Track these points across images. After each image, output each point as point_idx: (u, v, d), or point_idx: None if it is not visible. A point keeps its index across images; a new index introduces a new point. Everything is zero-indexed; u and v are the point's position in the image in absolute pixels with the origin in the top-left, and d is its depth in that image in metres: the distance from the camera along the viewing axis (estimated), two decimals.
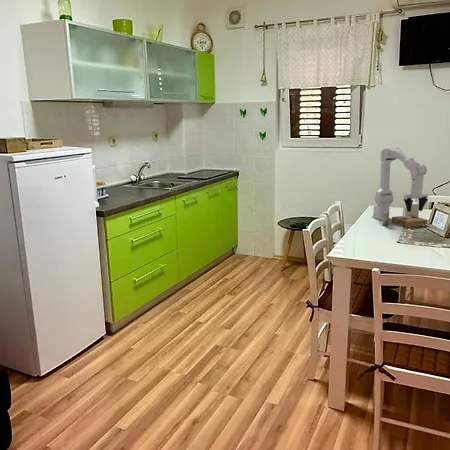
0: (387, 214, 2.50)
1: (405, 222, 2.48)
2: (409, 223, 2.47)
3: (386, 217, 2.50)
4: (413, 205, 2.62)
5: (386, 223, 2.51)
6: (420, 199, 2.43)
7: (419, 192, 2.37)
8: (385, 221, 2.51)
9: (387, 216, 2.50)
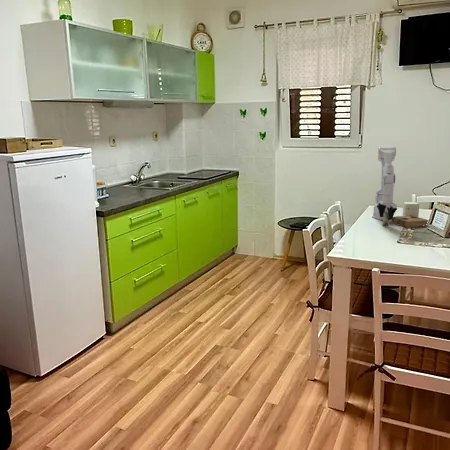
0: (387, 214, 2.50)
1: (405, 222, 2.48)
2: (409, 223, 2.47)
3: (386, 217, 2.50)
4: (413, 205, 2.62)
5: (386, 223, 2.51)
6: None
7: (382, 199, 2.49)
8: (385, 221, 2.51)
9: (387, 216, 2.50)
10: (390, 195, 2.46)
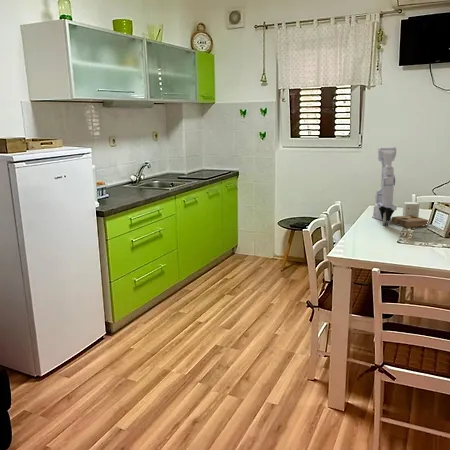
0: None
1: (405, 222, 2.48)
2: (409, 223, 2.47)
3: None
4: (413, 205, 2.62)
5: (386, 223, 2.51)
6: None
7: (382, 201, 2.49)
8: (385, 221, 2.51)
9: None
10: (390, 197, 2.46)
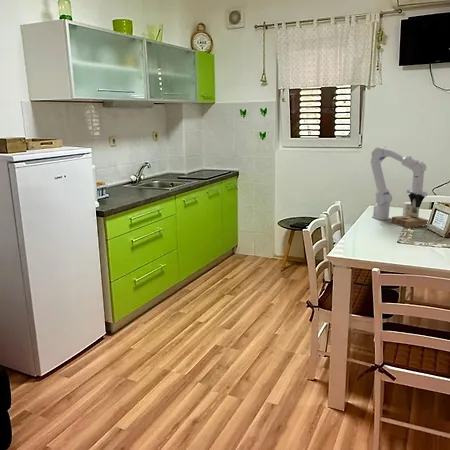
0: None
1: (405, 222, 2.48)
2: (409, 223, 2.47)
3: (415, 204, 2.52)
4: None
5: (415, 210, 2.53)
6: None
7: (413, 188, 2.51)
8: (414, 208, 2.53)
9: None
10: None
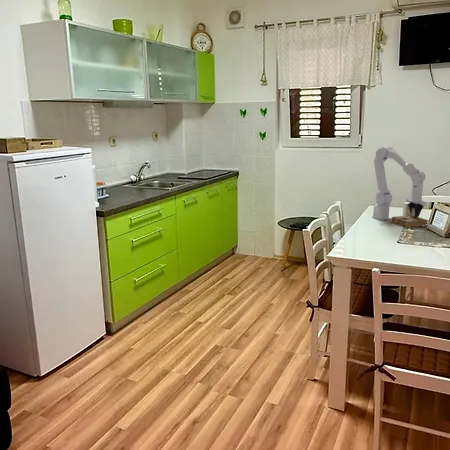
0: None
1: (405, 222, 2.48)
2: (409, 223, 2.47)
3: None
4: None
5: None
6: None
7: (412, 197, 2.52)
8: (413, 217, 2.54)
9: None
10: None
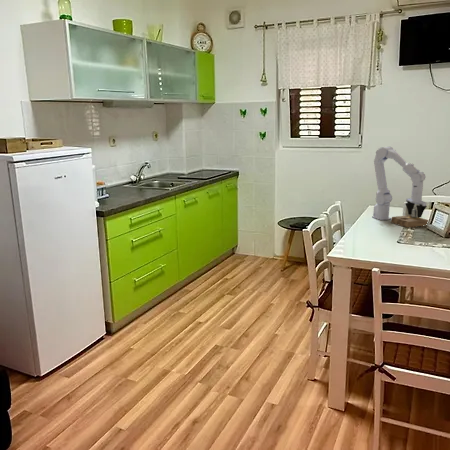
0: (415, 211, 2.53)
1: (405, 222, 2.48)
2: (409, 223, 2.47)
3: (415, 214, 2.54)
4: None
5: None
6: None
7: (412, 197, 2.52)
8: None
9: (415, 213, 2.53)
10: None
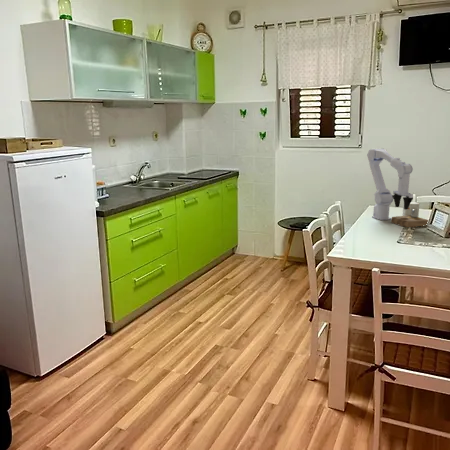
0: (415, 212, 2.53)
1: (405, 222, 2.48)
2: (409, 223, 2.47)
3: (414, 214, 2.53)
4: (413, 205, 2.62)
5: None
6: None
7: (398, 189, 2.52)
8: None
9: (415, 213, 2.53)
10: (408, 185, 2.50)
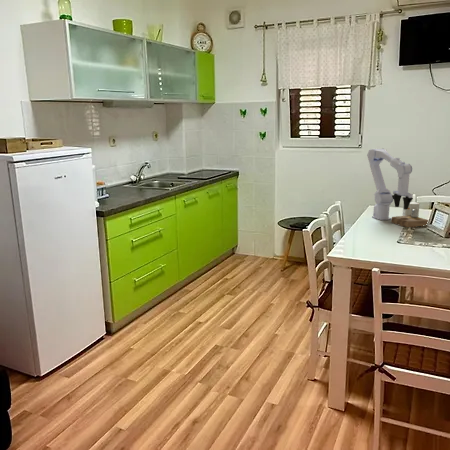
0: (415, 212, 2.53)
1: (405, 222, 2.48)
2: (409, 223, 2.47)
3: (415, 214, 2.53)
4: (413, 205, 2.62)
5: None
6: None
7: (398, 189, 2.52)
8: None
9: (415, 214, 2.53)
10: (408, 185, 2.50)
